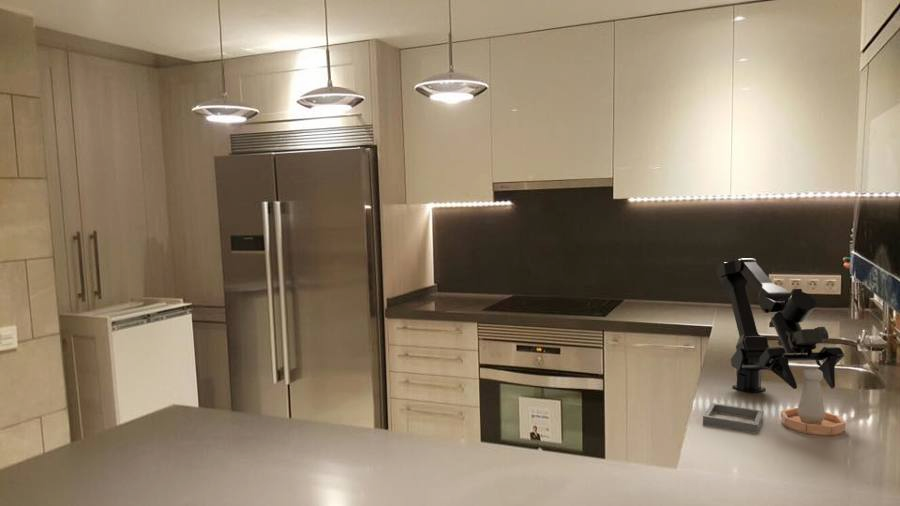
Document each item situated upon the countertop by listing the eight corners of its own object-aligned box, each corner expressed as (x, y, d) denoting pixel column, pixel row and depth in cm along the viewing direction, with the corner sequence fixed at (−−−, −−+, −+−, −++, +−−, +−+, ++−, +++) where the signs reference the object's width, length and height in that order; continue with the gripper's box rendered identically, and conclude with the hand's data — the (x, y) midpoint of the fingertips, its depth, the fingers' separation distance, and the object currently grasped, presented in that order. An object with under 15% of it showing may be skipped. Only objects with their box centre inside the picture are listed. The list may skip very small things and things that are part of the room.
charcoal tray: (711, 410, 163) (711, 402, 163) (762, 418, 157) (763, 410, 157) (702, 424, 153) (703, 416, 153) (757, 433, 147) (757, 425, 146)
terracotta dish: (802, 413, 160) (803, 405, 160) (855, 429, 149) (855, 420, 149) (769, 421, 154) (770, 413, 154) (821, 439, 143) (822, 429, 143)
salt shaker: (803, 416, 156) (806, 364, 155) (828, 422, 151) (831, 369, 150) (792, 421, 152) (794, 368, 151) (817, 428, 148) (820, 373, 147)
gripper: (767, 315, 154) (790, 371, 144) (841, 314, 155) (870, 370, 145) (749, 339, 163) (770, 394, 152) (820, 339, 163) (846, 393, 153)
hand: (814, 388), depth 150 cm, fingers open, 9 cm apart
